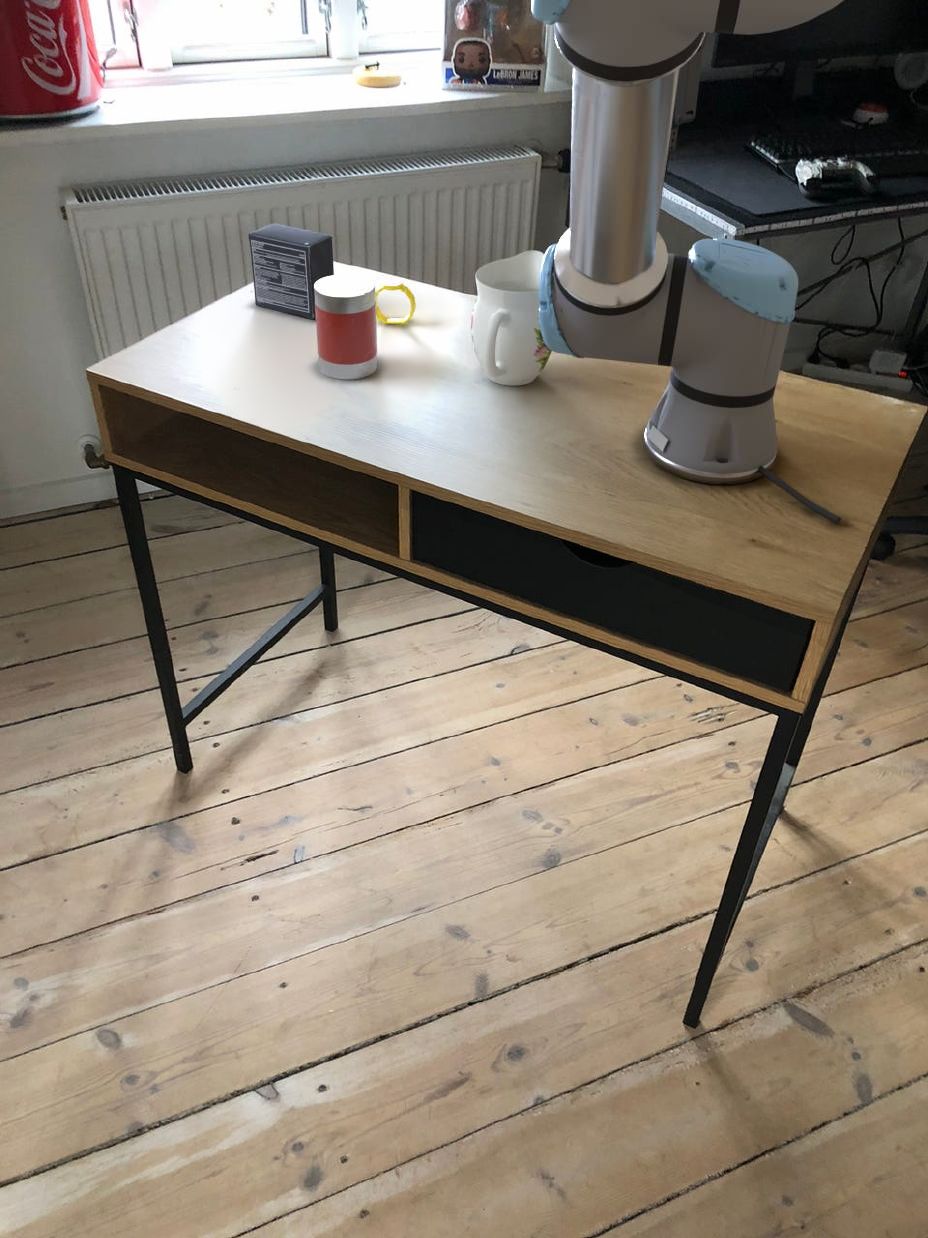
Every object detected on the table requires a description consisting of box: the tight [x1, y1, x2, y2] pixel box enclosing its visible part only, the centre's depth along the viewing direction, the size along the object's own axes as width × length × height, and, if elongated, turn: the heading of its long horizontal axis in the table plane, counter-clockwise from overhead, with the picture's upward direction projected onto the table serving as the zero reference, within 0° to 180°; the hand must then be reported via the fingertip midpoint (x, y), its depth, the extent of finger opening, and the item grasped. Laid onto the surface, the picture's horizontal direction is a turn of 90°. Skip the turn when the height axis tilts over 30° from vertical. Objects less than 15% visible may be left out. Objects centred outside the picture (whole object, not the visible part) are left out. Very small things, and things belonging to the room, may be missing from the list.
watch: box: [375, 278, 417, 325], centre depth 145 cm, size 6×3×6 cm, turn 81°
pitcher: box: [470, 249, 553, 387], centre depth 130 cm, size 11×18×14 cm, turn 160°
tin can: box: [314, 274, 378, 381], centre depth 132 cm, size 8×8×11 cm
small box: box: [247, 223, 335, 320], centre depth 148 cm, size 11×6×10 cm, turn 62°
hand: (636, 174), depth 128 cm, fingers open, 6 cm apart
